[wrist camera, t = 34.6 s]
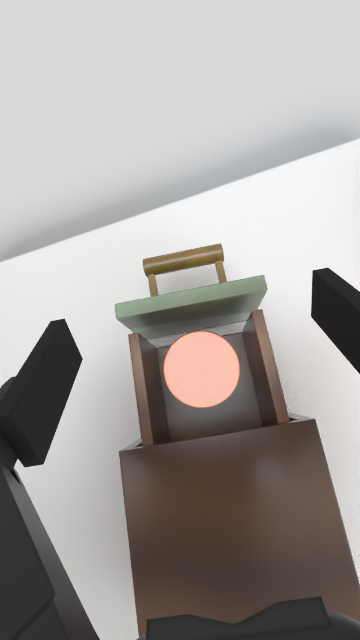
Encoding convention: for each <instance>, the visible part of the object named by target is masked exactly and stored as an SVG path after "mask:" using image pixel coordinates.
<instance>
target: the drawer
mask: <svg viewBox="0 0 360 640" xmlns="http://www.w3.org/2000/svg"><path fill="white" fill-rule="evenodd" d="M223 261H224V254H223V249H222V245H221V244H215V245H210V246H205V247H200V248H195V249H191V250H186V251H181V252H176V253H171V254H166V255H161V256H156V257H151V258H146V259H143V267H144V272H145V275H146V277H148V280H149V286H150V293H151V297H149V298H144V299H138V300H133V301H128V302H123V303H118V304H115V311H116V318H117V319H118V320H119V321H120V322H121V323H123V324H124V325H125V326H126V327H128V328H129V329H130V330H131V331H132V332H134V334H129V335H128V336H129V344H130V352H131V360H132V368H133V376H134V384H135V392H136V399H137V407H138V415H139V423H140V431H141V439H142V446H146V445H152V444H158V443H164V442H170V441H176V440H182V439H188V438H194V437H200V436H206V435H212V434H218V433H224V432H230V431H236V430H242V429H248V428H254V427H260V426H266V425H272V424H278V423H284V422H290V420H289V416H288V412H287V408H286V404H285V399H284V395H283V391H282V387H281V383H280V379H279V375H278V371H277V367H276V363H275V359H274V355H273V351H272V347H271V343H270V339H269V335H268V331H267V327H266V323H265V319H264V315H263V311H262V310H257V309H258V307H259V305H260V303H261V301H262V299H263V297H264V295H265V293H266V291H267V285H266V281H265V277H264V275H261V276H256V277H251V278H246V279H240V280H235V281H230V282H227V281H226V276H225V272H224V267H223V263H222V262H223ZM214 263H215V266H216V270H217V275H218V280H219V284H215V285H210V286H205V287H200V288H195V289H189V290H184V291H179V292H174V293H169V294H164V295H158V289H157V283H156V276H155V275H159V274H164V273H169V272H174V271H179V270H184V269H189V268H194V267H199V266H204V265H209V264H214ZM245 320H247V322H246V324H245V327H244V329H243V331H242V332H240V333H235V334H230V335H224V336H221V337H223V338H224V339H225V340H227V341H228V342H229V343H230V344H231V346H232V347H233V348H234V350H235V352H236V354H237V356H238V359H239V363H240V377H239V381H238V384H237V386H236V388H235V390H234V392H233V393H232V394H231V396H230V397H229V398H228V399H226V400H225V401H224V402H222V403H220V404H219V405H216V406H214V407H210V408H194V407H191V406H188V405H185V404H183V403H182V402H180V401H179V400H178V399H176V398H175V397H174V396H173V394H172V393H171V392H170V390H169V389H168V387H167V385H166V382H165V379H164V373H163V365H164V360H165V357H166V354H167V352H168V350H169V348H170V347H171V346H172V345H171V346H165V347H160V348H156V347H154V346H153V345H152V344H151V343H150V342H149V341H147V340H146V339H149V338H154V337H159V336H165V335H170V334H175V333H181V332H186V331H191V330H197V329H202V328H207V327H213V326H218V325H223V324H229V323H234V322H239V321H245Z"/></svg>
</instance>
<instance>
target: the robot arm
mask: <svg viewBox="0 0 360 640" xmlns="http://www.w3.org/2000/svg"><path fill="white" fill-rule="evenodd" d="M311 317H312V318H313V319H314V321H315V322H316V323H317V324H318V325H319V327H320V328H321V329H322V330H323V331H324V332H325V334H326V335H327V336H328V337H329V338H330V340H331V341H332V342H333V343H334V344H335V345H336V347H337V348H338V349H339V350H340V351H341V353H342V354H343V355H344V356H345V357H346V358H347V360H348V361H349V362H350V363H351V364H352V366H353V367H354V368H355V369H356V370H357V371H358V373H359V374H360V292H359V291H358V290H357V289H355V288H354V287H353V286H351V285H350V284H349V283H347V282H346V281H345V280H344V279H342V278H341V277H340V276H338V275H337V274H336V273H334V272H333V271H332V270H330V269H329V268H324V269H318V270H313V279H312V308H311ZM81 362H82V357H81V354H80V352H79V350H78V348H77V346H76V343H75V341H74V339H73V337H72V334H71V332H70V330H69V328H68V325H67V323H66V321H65V319H60V320H55V321H51V322H50V323H49V325H48V326H47V328H46V330H45V331H44V333H43V334H42V336H41V338H40V339H39V341H38V342H37V344H36V346H35V347H34V349H33V350H32V352H31V353H30V355H29V357H28V358H27V360H26V361H25V363H24V365H23V366H22V368H21V369H20V371H19V373H18V374H17V376H16V377H11V378H10V379H9V380H8V381H7V382H6V383H5V384H3V385H2V386H1V388H0V640H100V639H99V637H98V636H97V634H96V632H95V630H94V628H93V626H92V624H91V622H90V620H89V618H88V616H87V614H86V612H85V610H84V608H83V606H82V604H81V602H80V600H79V598H78V596H77V594H76V591H75V589H74V587H73V585H72V583H71V581H70V579H69V577H68V575H67V573H66V571H65V569H64V567H63V565H62V563H61V561H60V559H59V557H58V555H57V553H56V551H55V548H54V546H53V544H52V542H51V540H50V538H49V536H48V534H47V532H46V530H45V528H44V526H43V524H42V522H41V520H40V518H39V516H38V514H37V512H36V510H35V508H34V505H33V503H32V501H31V499H30V497H29V495H28V493H27V491H26V489H25V487H24V485H23V483H22V481H21V479H20V477H19V475H18V473H17V471H16V470H15V469H14V465H15V463H16V461H17V459H19V460H20V462H21V463H22V464H23V466H24V467H30V466H36V465H42V464H44V461H45V459H46V456H47V453H48V451H49V448H50V445H51V443H52V440H53V437H54V435H55V432H56V429H57V427H58V424H59V421H60V418H61V416H62V413H63V410H64V408H65V405H66V402H67V400H68V397H69V394H70V392H71V389H72V386H73V384H74V381H75V378H76V375H77V373H78V370H79V367H80V365H81ZM137 640H360V622H358V621H356V620H354V619H352V618H350V617H349V616H347V615H344V614H341V613H339V612H336V611H333V610H328V609H325V606H324V603H323V600H322V597H321V596H318V597H311V598H303V599H296V600H288V601H281V602H276V603H274V604H273V605H271V606H269V607H267V608H265V609H263V610H261V611H259V612H257V613H256V614H254V615H252V616H250V617H248V618H246V619H244V620H242V621H241V622H238V623H235V624H231V623H226V622H222V621H217V620H213V619H208V618H204V617H200V616H195V615H191V614H184V615H177V616H170V617H162V618H155V619H147V627H146V634H144V635H142V636H141V637H139V638H138V639H137Z"/></svg>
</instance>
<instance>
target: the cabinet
mask: <svg viewBox="0 0 360 640" xmlns="http://www.w3.org/2000/svg"><path fill="white" fill-rule="evenodd" d="M288 416H289V420H290V422H284V423H278V424H272V425H266V426H260V427H254V428H248V429H242V430H236V431H230V432H224V433H218V434H212V435H206V436H200V437H194V438H188V439H182V440H176V441H170V442H164V443H158V444H152V445H146V446H142V439H140V440H138V441H136V442H135V443H133V444H131V445H130V446H128V447H126V448H125V449H123V450H121V451H119V456H120V465H121V475H122V484H123V493H124V502H125V512H126V521H127V530H128V540H129V549H130V558H131V567H132V577H133V586H134V595H135V604H136V614H137V623H138V632H139V637H141V636H142V635H144V634H146V627H147V619H155V618H162V617H170V616H177V615H184V614H191V615H195V616H200V617H204V618H208V619H213V620H217V621H222V622H226V623H231V624H235V623H238V622H241V621H242V620H244V619H246V618H248V617H250V616H252V615H254V614H256V613H257V612H259V611H261V610H263V609H265V608H267V607H269V606H271V605H273V604H274V603H276V602H281V601H288V600H296V599H303V598H311V597H318V596H321V597H322V600H323V603H324V606H325V609H328V610H333V611H336V612H339V613H341V614H344V615H347V616H349V617H350V618H352V619H354V620H356V621H358V622H360V583H359V580H358V576H357V572H356V568H355V565H354V561H353V557H352V554H351V550H350V546H349V543H348V539H347V535H346V531H345V528H344V524H343V520H342V517H341V513H340V509H339V506H338V502H337V498H336V494H335V491H334V487H333V483H332V480H331V476H330V472H329V469H328V465H327V461H326V457H325V454H324V450H323V446H322V443H321V439H320V435H319V432H318V428H317V424H316V420H315V419H313V418H309V417H304V416H300V415H295V414H291V413H288Z"/></svg>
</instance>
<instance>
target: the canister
mask: <svg viewBox="0 0 360 640" xmlns="http://www.w3.org/2000/svg"><path fill="white" fill-rule="evenodd" d="M163 373H164V379H165V382H166V385H167V387H168V389H169V390H170V392H171V393H172V394H173V396H174V397H175V398H176V399H178V400H179V401H180V402H182V403H183V404H185V405H188V406H191V407H194V408H210V407H214V406H216V405H219V404H220V403H222V402H224V401H225V400H226V399H228V398H229V397H230V396H231V394H232V393H233V392H234V390H235V388H236V386H237V384H238V381H239V377H240V363H239V359H238V356H237V354H236V352H235V350H234V348H233V347H232V346H231V344H230V343H229V342H228V341H227V340H225V339H224V338H223V337H221V336H219V335H217V334H215V333H212V332H208V331H195V332H191V333H188V334H185V335H183V336H182V337H180V338H179V339H177V340H176V341H175V342H174V343H173V344H172V346H171V347H170V348H169V350H168V352H167V354H166V357H165V360H164V365H163Z"/></svg>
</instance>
